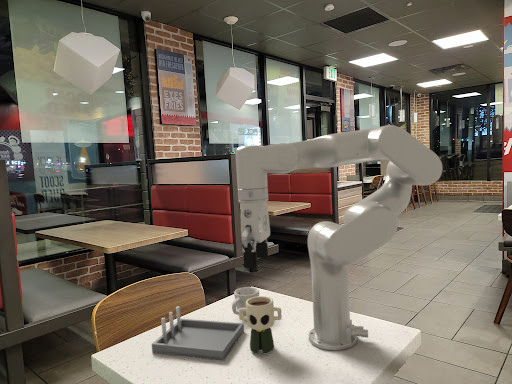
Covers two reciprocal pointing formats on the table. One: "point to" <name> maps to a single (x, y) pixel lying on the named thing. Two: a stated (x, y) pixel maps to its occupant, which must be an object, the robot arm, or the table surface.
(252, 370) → the table surface
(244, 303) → the cup
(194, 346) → the dish rack
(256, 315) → the character mug
